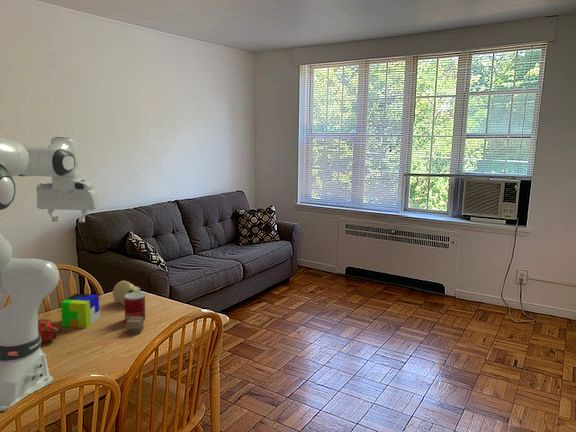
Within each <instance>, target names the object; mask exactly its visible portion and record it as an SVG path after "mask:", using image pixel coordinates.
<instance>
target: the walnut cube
mask: <svg viewBox="0 0 576 432" xmlns="http://www.w3.org/2000/svg"><path fill="white" fill-rule="evenodd" d="M144 321H145V320H144ZM144 321H143V317H130V318H129V319H128V320H127V322H126V334H127V335H141V334H142V332H143V330H144V328H145V327H144V326H145V325H144V323H145V322H144Z"/></svg>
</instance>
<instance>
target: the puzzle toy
mask: <svg viewBox="0 0 576 432" xmlns="http://www.w3.org/2000/svg"><path fill="white" fill-rule="evenodd" d="M99 299H100V295H98V294H86V293H74V294H73V295H71V296H69V297H67V298H65V299H64V300H63V301H61V302H60V307H61V308H60V309H61V321H62V322H61V325H62V327H67V328H69V327H70V328H80V329H81V328H83V329H87V328H89V326H91V325H93V324H94V323H95V322H96V321H98V320H99V319H100V300H99Z"/></svg>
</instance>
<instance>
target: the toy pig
mask: <svg viewBox="0 0 576 432" xmlns="http://www.w3.org/2000/svg"><path fill="white" fill-rule="evenodd" d="M141 291H142V288H141V287H140V286H135V285H134V284H133V283H131V282H130V281H126V280H121V281H119V282H117V283H116V284H115V286H114V287H113V289H112V296H113V302H114V303H115V302H117V303H119V304H121V305H122V306H123V307H124V296H125V295H126V294H128V293H131V292H141ZM141 293H142V292H141Z"/></svg>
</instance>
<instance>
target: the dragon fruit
mask: <svg viewBox="0 0 576 432" xmlns="http://www.w3.org/2000/svg"><path fill="white" fill-rule="evenodd" d="M61 331H62V328H61V327H59V325H58V324H57V323H55V322H54V321H53V320H52V319H50V318H49V319H46V318H44V317H43V318H41V319H38V332H39V333H40V337H41V343H42V342H43V343H47V344H48V343H52V341H51V339H53V340H54V339H57V338H58V337H59V333H61Z"/></svg>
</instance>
